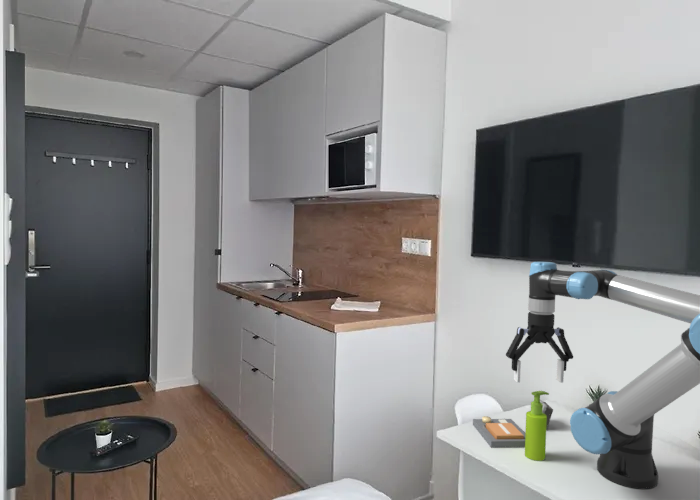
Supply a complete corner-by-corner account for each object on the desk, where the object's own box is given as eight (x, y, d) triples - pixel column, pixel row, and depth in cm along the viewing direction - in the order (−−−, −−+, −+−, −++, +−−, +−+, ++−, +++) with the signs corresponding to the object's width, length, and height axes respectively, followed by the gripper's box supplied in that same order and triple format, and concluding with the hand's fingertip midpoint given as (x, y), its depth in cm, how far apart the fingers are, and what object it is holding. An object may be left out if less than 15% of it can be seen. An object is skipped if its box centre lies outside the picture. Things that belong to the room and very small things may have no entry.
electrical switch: (527, 420, 175) (530, 395, 174) (541, 422, 175) (544, 397, 174) (536, 431, 165) (539, 405, 165) (551, 433, 165) (554, 407, 165)
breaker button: (523, 444, 154) (523, 434, 154) (496, 444, 154) (496, 435, 154) (510, 431, 164) (511, 422, 164) (485, 431, 164) (485, 422, 164)
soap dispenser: (552, 458, 145) (554, 394, 144) (534, 462, 142) (536, 396, 142) (537, 450, 150) (540, 387, 150) (520, 453, 148) (522, 390, 147)
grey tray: (533, 447, 153) (534, 436, 152) (491, 447, 152) (491, 436, 151) (510, 424, 171) (511, 414, 170) (472, 424, 170) (473, 414, 169)
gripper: (574, 310, 149) (571, 377, 150) (496, 309, 148) (494, 377, 149) (587, 315, 142) (584, 385, 143) (506, 314, 140) (503, 385, 141)
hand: (538, 381), depth 146 cm, fingers open, 13 cm apart
